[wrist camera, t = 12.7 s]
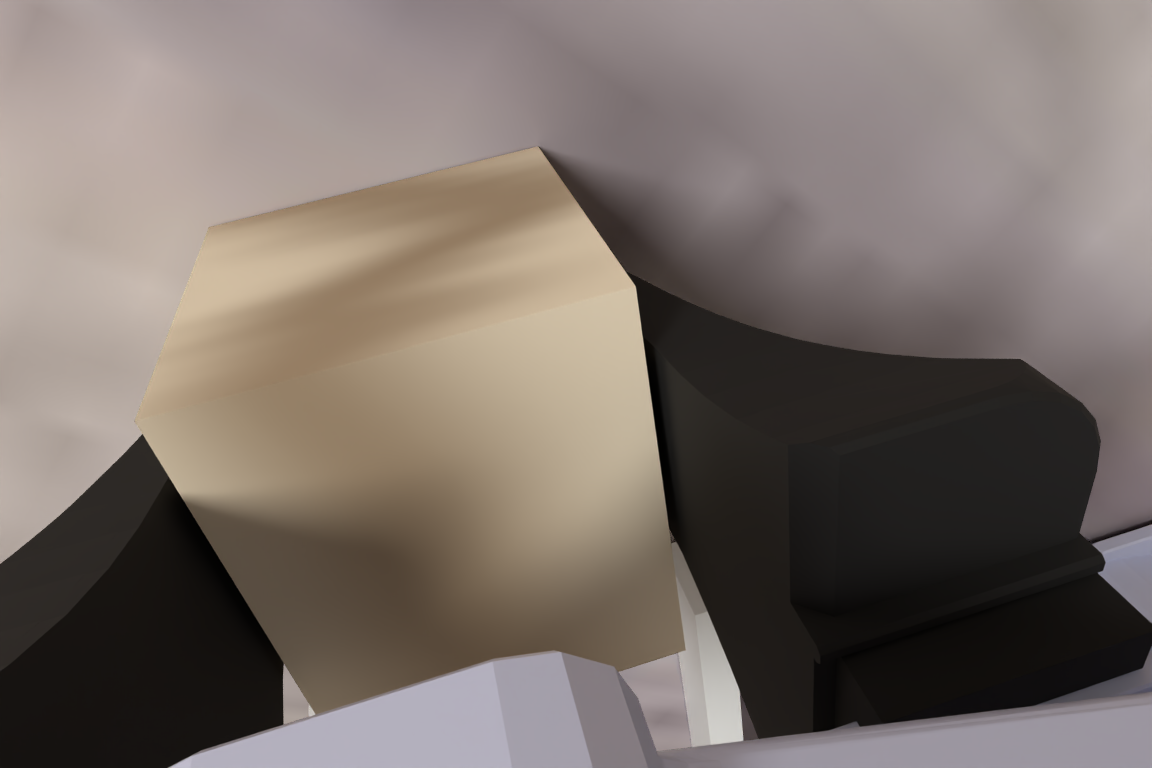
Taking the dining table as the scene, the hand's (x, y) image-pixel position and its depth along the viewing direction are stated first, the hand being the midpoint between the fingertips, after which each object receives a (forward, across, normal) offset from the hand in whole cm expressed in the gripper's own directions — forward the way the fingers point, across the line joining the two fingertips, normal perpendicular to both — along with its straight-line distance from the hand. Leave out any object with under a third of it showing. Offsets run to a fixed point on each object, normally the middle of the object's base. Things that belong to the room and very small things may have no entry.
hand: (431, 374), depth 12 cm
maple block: (+1, 0, 0) cm, 1 cm away
